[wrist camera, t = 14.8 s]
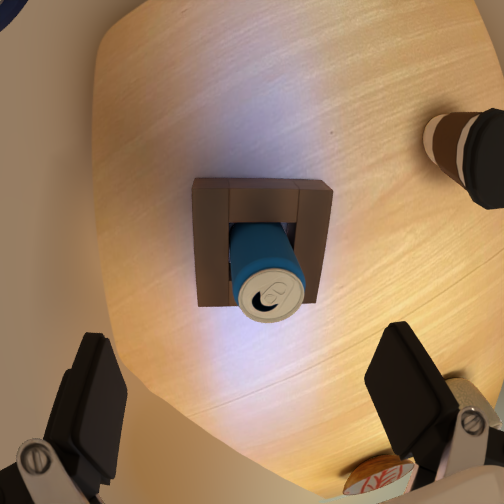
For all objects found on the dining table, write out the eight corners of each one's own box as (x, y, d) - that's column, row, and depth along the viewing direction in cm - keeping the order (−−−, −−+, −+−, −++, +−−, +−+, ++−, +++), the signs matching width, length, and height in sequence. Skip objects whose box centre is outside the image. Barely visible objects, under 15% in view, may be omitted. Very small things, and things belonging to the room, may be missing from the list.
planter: (467, 388, 65) (495, 438, 48) (404, 426, 68) (427, 480, 51) (469, 352, 55) (509, 411, 39) (394, 399, 59) (424, 466, 42)
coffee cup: (478, 131, 32) (541, 153, 21) (444, 193, 36) (502, 230, 25) (431, 80, 29) (500, 87, 18) (392, 150, 33) (455, 178, 22)
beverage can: (217, 240, 36) (217, 303, 26) (254, 199, 34) (270, 250, 24) (258, 269, 39) (272, 337, 28) (295, 233, 37) (324, 291, 26)
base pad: (199, 287, 39) (198, 306, 36) (194, 178, 33) (191, 188, 29) (308, 285, 41) (315, 303, 37) (322, 180, 34) (333, 190, 30)
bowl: (323, 473, 78) (328, 494, 71) (392, 438, 71) (400, 460, 64) (358, 479, 88) (363, 496, 81) (416, 448, 81) (423, 465, 74)
